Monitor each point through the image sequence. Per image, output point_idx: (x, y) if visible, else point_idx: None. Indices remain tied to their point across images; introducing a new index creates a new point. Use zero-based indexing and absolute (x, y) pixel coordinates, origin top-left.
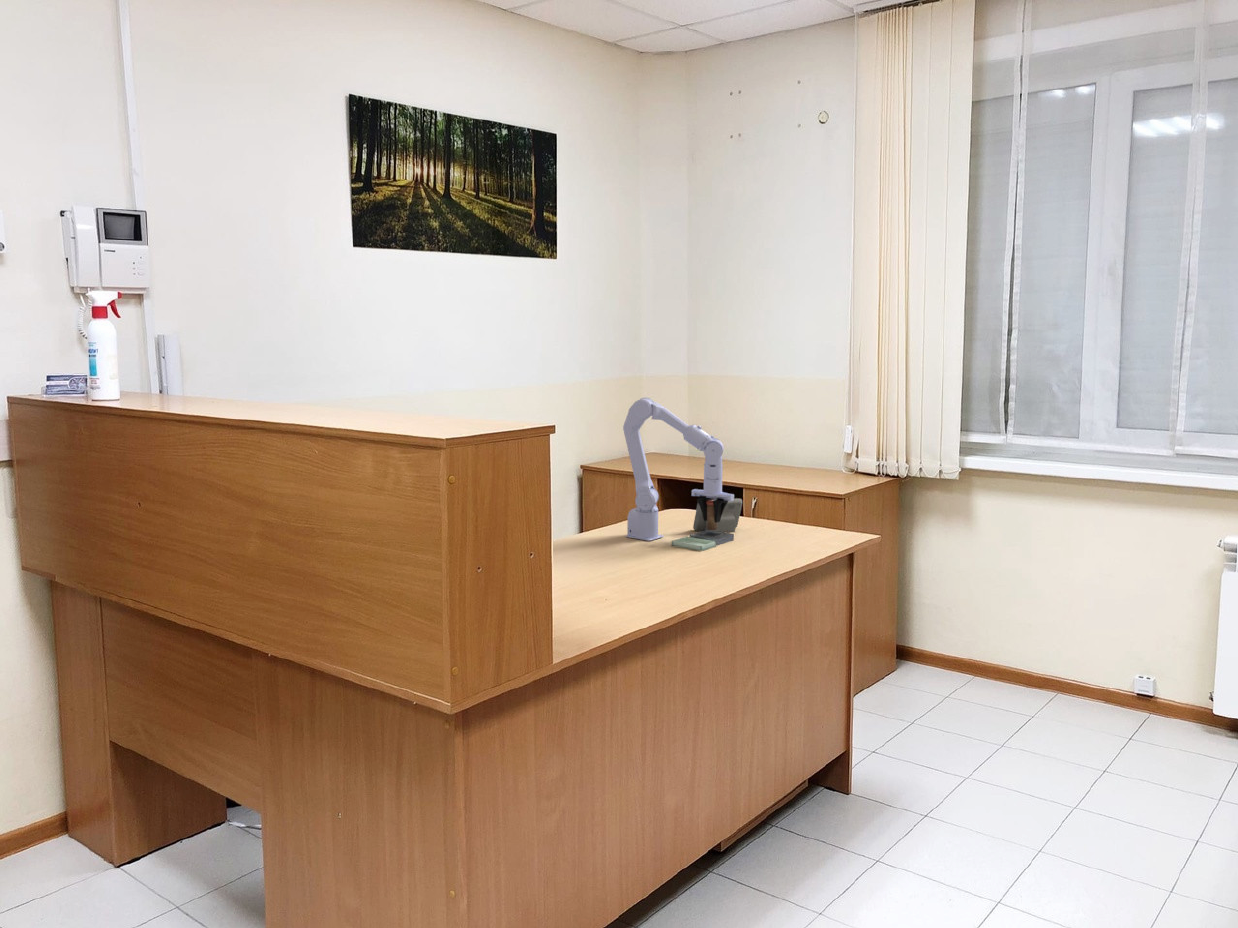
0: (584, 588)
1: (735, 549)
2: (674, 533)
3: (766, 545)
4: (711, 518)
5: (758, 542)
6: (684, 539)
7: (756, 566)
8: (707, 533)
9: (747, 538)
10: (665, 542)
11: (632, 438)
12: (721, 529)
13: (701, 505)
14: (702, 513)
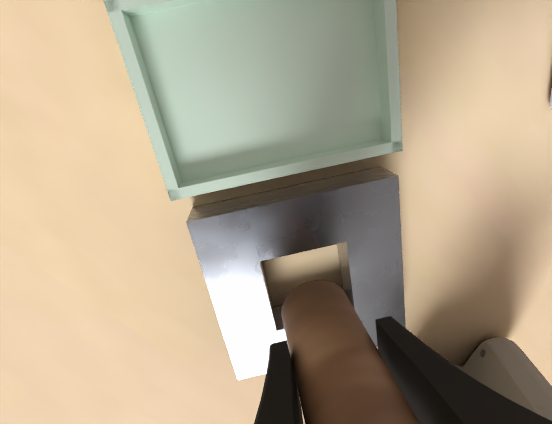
0: None
1: (53, 231)
2: (545, 228)
3: (59, 401)
4: (317, 349)
5: (135, 407)
6: (385, 114)
7: None
8: (351, 290)
9: (229, 415)
10: (467, 9)
11: None
12: None
13: (502, 421)
14: (432, 351)
